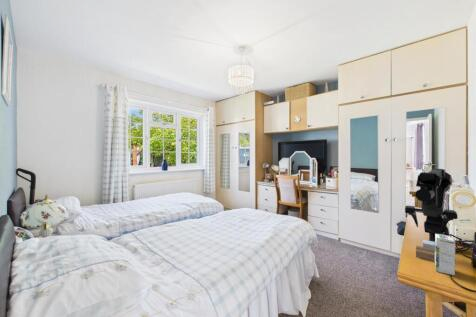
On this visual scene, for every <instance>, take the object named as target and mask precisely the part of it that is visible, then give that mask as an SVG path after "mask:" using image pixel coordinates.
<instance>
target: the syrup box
mask: <svg viewBox="0 0 476 317" xmlns="http://www.w3.org/2000/svg"><path fill="white" fill-rule="evenodd" d="M434 267H435V271H436V272H439V273H441V274H447V275H451V276H456V240H455V238H454V237H453V236H450V235H449V236H447V235H441V234H435V262H434Z"/></svg>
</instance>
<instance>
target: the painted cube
mask: <svg viewBox="0 0 476 317" xmlns="http://www.w3.org/2000/svg"><path fill="white" fill-rule="evenodd" d="M422 247H427V248H431V249H435V242H433V241H429V239H428V240H427V239H422Z"/></svg>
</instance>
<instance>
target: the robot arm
mask: <svg viewBox="0 0 476 317" xmlns="http://www.w3.org/2000/svg"><path fill="white" fill-rule="evenodd" d="M452 185H453V178H452V175H451V174H450V173H448V172H447V171H446V169H444V168H432V169H430V171H428V172H425V171H424V172H421V171H420V172H419V174H418V175H417V179H416V184H415V186H416V187H419V189H418V190H416V191H415V193H414V195H415V196H414V197H415V198H416V199H417V200H418V201H420V202H421V208H417V207H416V206H414V205H405V206H404V213H405V214H408V216H411V218H412V219H413V221H414V224H415V226H416V227H417V228H419V222H418V217H417V213H421V214H422V215H423V216H424V217H426V219H425V221H424V223H423V228H424V233H427V234H428V241H433V242H435V234H441V235H447V236H450V230H449V228H448V223H449V222H450V221H454V220H458V213H457V211H456V210H454V209H444V207H445V198H446V193H447V192H448V191H449V190H450V189H451V186H452Z"/></svg>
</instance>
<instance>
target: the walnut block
mask: <svg viewBox="0 0 476 317" xmlns="http://www.w3.org/2000/svg"><path fill="white" fill-rule="evenodd" d="M417 257H418V259H423V260H426V261H430V262H434V263H435V249H431V248H427V247H423V245H422V246H421V245H416V248H415V258H417Z"/></svg>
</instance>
